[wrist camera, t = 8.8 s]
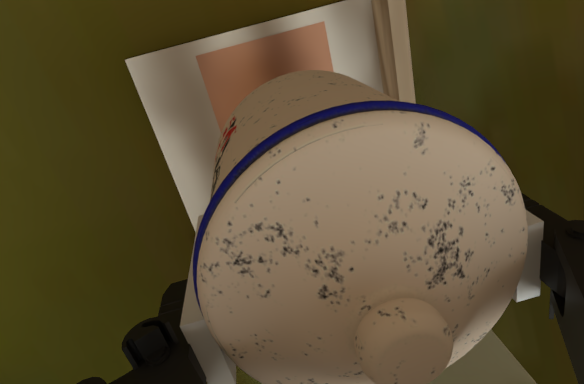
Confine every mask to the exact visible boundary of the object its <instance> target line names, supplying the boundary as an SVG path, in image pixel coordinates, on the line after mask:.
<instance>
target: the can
mask: <svg viewBox="0 0 584 384" xmlns="http://www.w3.org/2000/svg"><path fill="white" fill-rule="evenodd" d="M428 384H537V383H536V382H535V381H534V380H533V379H532V377H531V376H530V375H529V374H528V373H527V372H526V370H525V369H524V368H523V367H522V366H521V365H520V363H519V362H518V361H517V360H516V359H515V357H514V356H513V355H512V354H511V353H510V351H509V350H508V349H507V348H506V347H505V345H504V344H503V343H502V342H501V341H500V339H499V338H498V337H497V336H496V335H495V333H494V332H493V331H492V330H490V331H489V332H488V333H487V334H486V335H485V336H484V337H483V338H482V339H481V340H480V341H479V342H478V343H477V344H476V345H475V346H474V347H473V348H472V349H471V350H470V351H468V352H467V353H466V354H465V355H464V356H462V357H461V358H460V359H458V360H457V361H456V362H454V363H453V364H452V365H450V366H449V367H447V368H445V370H444V371H443V372H442V373H441V374H440V375H439V376H438V377H437V378H436V379H434V380H433V381H431V382H430V383H428Z"/></svg>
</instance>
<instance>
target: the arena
mask: <svg viewBox="0 0 584 384" xmlns="http://www.w3.org/2000/svg"><path fill="white" fill-rule="evenodd" d="M125 62H126V64H127V67H128V69H129V71H130V74H131V76H132V79H133V81H134V84H135V86H136V88H137V91H138V93H139V96H140V98H141V101H142V103H143V106H144V108H145V110H146V113H147V115H148V118H149V120H150V123H151V125H152V127H153V130H154V132H155V135H156V137H157V140H158V142H159V145H160V147H161V149H162V152H163V154H164V157H165V159H166V162H167V164H168V166H169V169H170V171H171V174H172V176H173V179H174V181H175V184H176V186H177V188H178V191H179V193H180V196H181V198H182V201H183V203H184V205H185V208H186V210H187V213H188V215H189V218H190V220H191V223H192V225H193V227H194V230H195V232H196V229H197V223H198V217H199V216H200V215H203V214H204V213H205V210H206V209H207V207H208V205H209V203H210V197H211V189H212V181H213V173H214V165H215V157H216V150H217V145H218V141H219V138H220V135H221V132H222V130H223V128H224V126H225V124H226V122H227V120H228V118H229V117H230V115H231V114H232V112H233V111H234V110H235V108H236V107H237V106H238V105H239V104H240V102H241V101H242V100H243V99H244V98H245V97H246V96H248V95H249V94H250V93H251V92H252V91H254V90H255V89H256V88H258V87H259V86H261V85H262V84H264V83H266V82H268V81H270V80H272V79H274V78H276V77H279V76H282V75H285V74H288V73H292V72H297V71H305V70H323V71H331V72H336V73H340V74H343V75H346V76H349V77H351V78H353V79H355V80H357V81H359V82H361V83H363V84H365V85H367V86H369V87H371V88H373V89H375V90H377V91H380V92H382V93H384V94H386V95H388V96H390V97H392V98H394V99H396V100H398V101H401V102H410V103H415V104H416V102H415V92H414V82H413V72H412V62H411V52H410V42H409V32H408V22H407V12H406V2H405V0H345V1H341V2H337V3H334V4H330V5H326V6H322V7H319V8H315V9H311V10H308V11H304V12H300V13H296V14H293V15H289V16H285V17H281V18H278V19H274V20H270V21H267V22H263V23H259V24H255V25H252V26H248V27H244V28H240V29H237V30H233V31H229V32H226V33H222V34H218V35H214V36H211V37H207V38H203V39H199V40H196V41H192V42H188V43H185V44H181V45H177V46H173V47H170V48H166V49H162V50H158V51H155V52H151V53H147V54H144V55H140V56H136V57H132V58H129V59H125Z"/></svg>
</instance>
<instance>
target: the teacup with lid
mask: <svg viewBox="0 0 584 384" xmlns="http://www.w3.org/2000/svg"><path fill="white" fill-rule="evenodd" d="M527 245H528V223H527V216H526V209H525V205H524V202H523V198H522V194H521V191H520V189H519V186H518V184H517V181H516V180H515V178H514V176H513V174H512V172H511V171H510V169H509V167H508V166H507V164H506V163H505V161H504V159H503V158H502V157H501V155H500V154H499V152H498V151H497V150H496V148H495V147H494V146H493V145H492V144H491V143H490V142H489V141H488V140H487V139H486V138H485V137H484V136H483V135H481V134H480V133H479V132H478V131H476V130H475V129H474V128H473V127H471V126H470V125H468V124H466V123H465V122H463V121H462V120H460V119H458V118H456V117H454V116H452V115H450V114H447V113H445V112H443V111H440V110H437V109H434V108H431V107H428V106H424V105H419V104H415V103H410V102H401V101H398V100H396V99H394V98H392V97H390V96H388V95H386V94H384V93H382V92H380V91H377V90H375V89H373V88H371V87H369V86H367V85H365V84H363V83H361V82H359V81H357V80H355V79H353V78H351V77H349V76H346V75H343V74H340V73H336V72H331V71H323V70H305V71H297V72H292V73H288V74H285V75H282V76H279V77H276V78H274V79H272V80H270V81H268V82H266V83H264V84H262V85H261V86H259V87H258V88H256V89H255V90H254V91H252V92H251V93H250V94H249V95H248V96H246V97H245V98H244V99H243V100H242V101H241V102H240V104H239V105H238V106H237V107H236V108H235V110H234V111H233V112H232V114H231V115H230V117H229V118H228V120H227V122H226V124H225V126H224V128H223V130H222V132H221V135H220V138H219V141H218V145H217V150H216V157H215V165H214V173H213V181H212V189H211V197H210V203H209V205H208V207H207V209H206V210H205V213H204V215H203V218H202V221H201V223H200V226H199V229H198V233H197V237H196V241H195V247H194V254H193V281H194V290H195V294H196V298H197V302H198V305H199V308H200V311H201V313H202V316H203V318H204V320H205V322H206V325H207V327H208V329H209V331H210V333H211V335H212V336H213V338H214V339H215V341H216V342H217V344H218V345H219V347H220V348H221V349H222V350H223V351H224V353H225V354H226V355H227V356H228V357H229V358H230V359H231V360H232V361H233V362H234V363H235V364H236V365H237V366H238V367H239V368H240V369H241V370H243V371H244V372H245V373H247V374H248V375H249V376H251V377H252V378H254V379H256V380H257V381H259V382H261V383H263V384H428V383H430V382H431V381H433V380H434V379H436V378H437V377H438V376H439V375H440V374H441V373H442V372H443V371H444V370H445V368H447V367H449V366H450V365H452V364H453V363H454V362H456V361H457V360H458V359H460V358H461V357H462V356H464V355H465V354H466V353H467V352H468V351H470V350H471V349H472V348H473V347H474V346H475V345H476V344H477V343H478V342H479V341H480V340H481V339H482V338H483V337H484V336H485V335H486V334H487V333H488V332H489V331H490V330H491V328H492V327H493V326H494V325H495V323H496V322H497V321H498V319H499V318H500V317H501V315H502V314H503V312H504V311H505V309H506V307H507V306H508V304H509V302H510V300H511V299H512V297H513V295H514V293H515V290H516V288H517V286H518V283H519V281H520V278H521V275H522V271H523V268H524V264H525V259H526V254H527Z"/></svg>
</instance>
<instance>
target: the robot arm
mask: <svg viewBox="0 0 584 384" xmlns="http://www.w3.org/2000/svg"><path fill="white" fill-rule="evenodd" d="M521 194H522V193H521ZM522 198H523V202H524V205H525V209H526V216H527V223H528V245H527V254H526V259H525V264H524V268H523V271H522V275H521V278H520V281H519V283H518V286H517V288H516V290H515V293H514V295H513V297H512V298H513V299H514V300H515V301H516V302H519V301H523V300H526V299H529V298H533V297H536V296H540V285H541V281H543V282H544V283H545V284H546V285H547V286H549V287H550V288H551V294H550V308H549V319H554V313H555V315H556V318H557V321H558V324H559V327H560V330H561V333H562V336H563V339H564V342H565V345H566V348H567V351H568V354H569V356H570V359H571V362H572V365H573V368H574V371H575V374H576V377H577V380H578V383H579V384H584V221H582V220H572V221H567V220H565V219H564V218H562V217H561V216H559V215H557V214H556V213H554V212H552V211H551V210H549V209H547V208H546V207H544V206H542V205H539V203H537V202H536V201H534V200H531V199H530V198H529V197H527V196H526V195H524V194H522ZM203 215H204V214H203ZM203 215H200V216H199V217H198V223H197V229H196V235H195V240H194V246H193V252H192V258H191V264H190V270H189V275H188V279H186V280H183V281H179V282H176V283H172V284H171V285H170V286H169V287H168V289H167V290H166V291H165V293H164V294H163V297H162V301H161V307H160V309H159V313H158V314H159V316H158V317H154V318H149V319H147V320H145V321H142V322H140V323H139V324H137V325H136V326H135V327H133V328H132V329H131V330H130V331H129V332H128V333H127V335H126V336H125V338H124V340H123V342H122V350H123V352H124V354H125V355H126V357H127V359H128V360H129V362H130V364H131V365H132V367H133V370H132V371H130V372H128V373H127V374H125V375H123V376H122V377H120V378H118V379H116V380H114V381H113V382H111V383H109V384H206V381H207V383H208V384H236V364H235V363H234V362H233V361H232V360H231V359H230V358H229V357H228V356H227V355H226V354H225V353H224V351H223V350H222V349H221V348H220V347H219V345H218V344H217V342H216V341H215V339H214V338H213V336H212V335H211V333H210V331H209V329H208V327H207V325H206V322H205V320H204V318H203V316H202V313H201V311H200V308H199V305H198V302H197V298H196V294H195V290H194V281H193V254H194V247H195V241H196V237H197V233H198V229H199V226H200V223H201V221H202V218H203ZM77 384H106V382H105V381H104V380H103V379H101V378H100V377H91V378H88V379H85V380H82V381H81V382H79V383H77Z"/></svg>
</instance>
